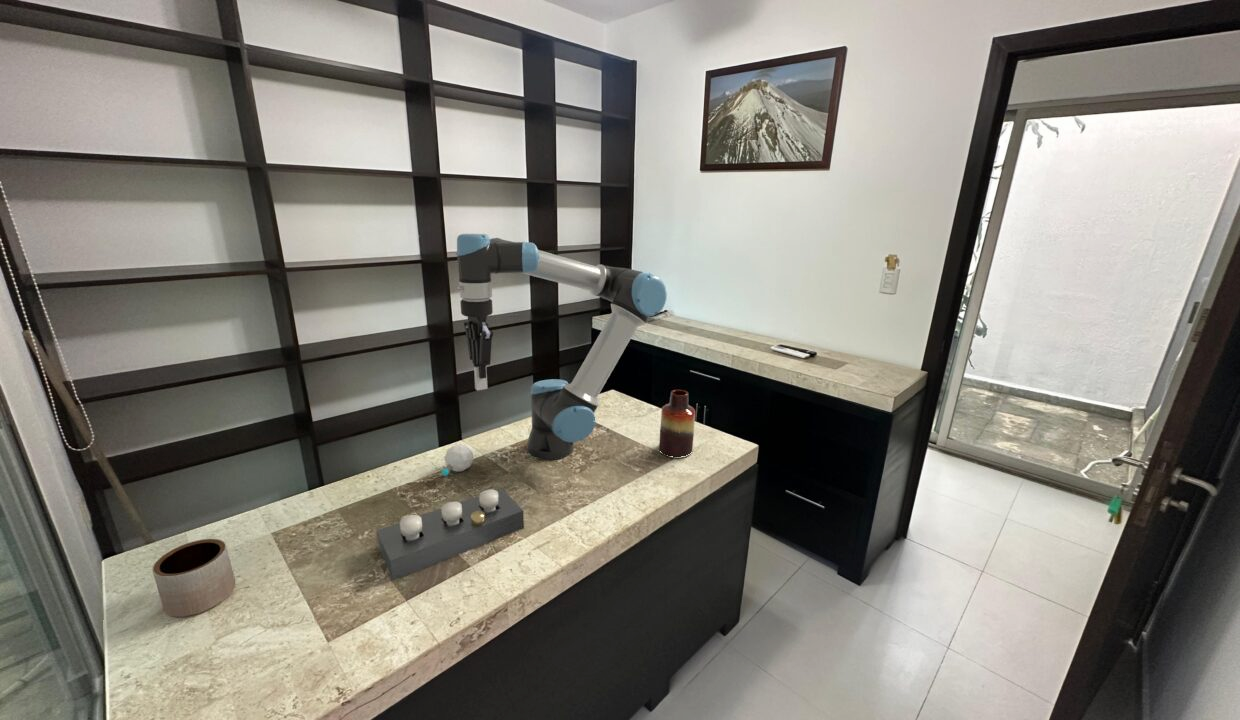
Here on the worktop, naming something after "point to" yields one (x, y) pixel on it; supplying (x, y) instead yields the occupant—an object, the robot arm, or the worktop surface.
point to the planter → (194, 577)
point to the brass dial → (477, 518)
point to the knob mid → (451, 513)
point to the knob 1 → (411, 527)
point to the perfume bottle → (457, 459)
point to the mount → (447, 535)
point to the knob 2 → (489, 500)
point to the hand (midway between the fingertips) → (481, 388)
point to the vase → (677, 425)
